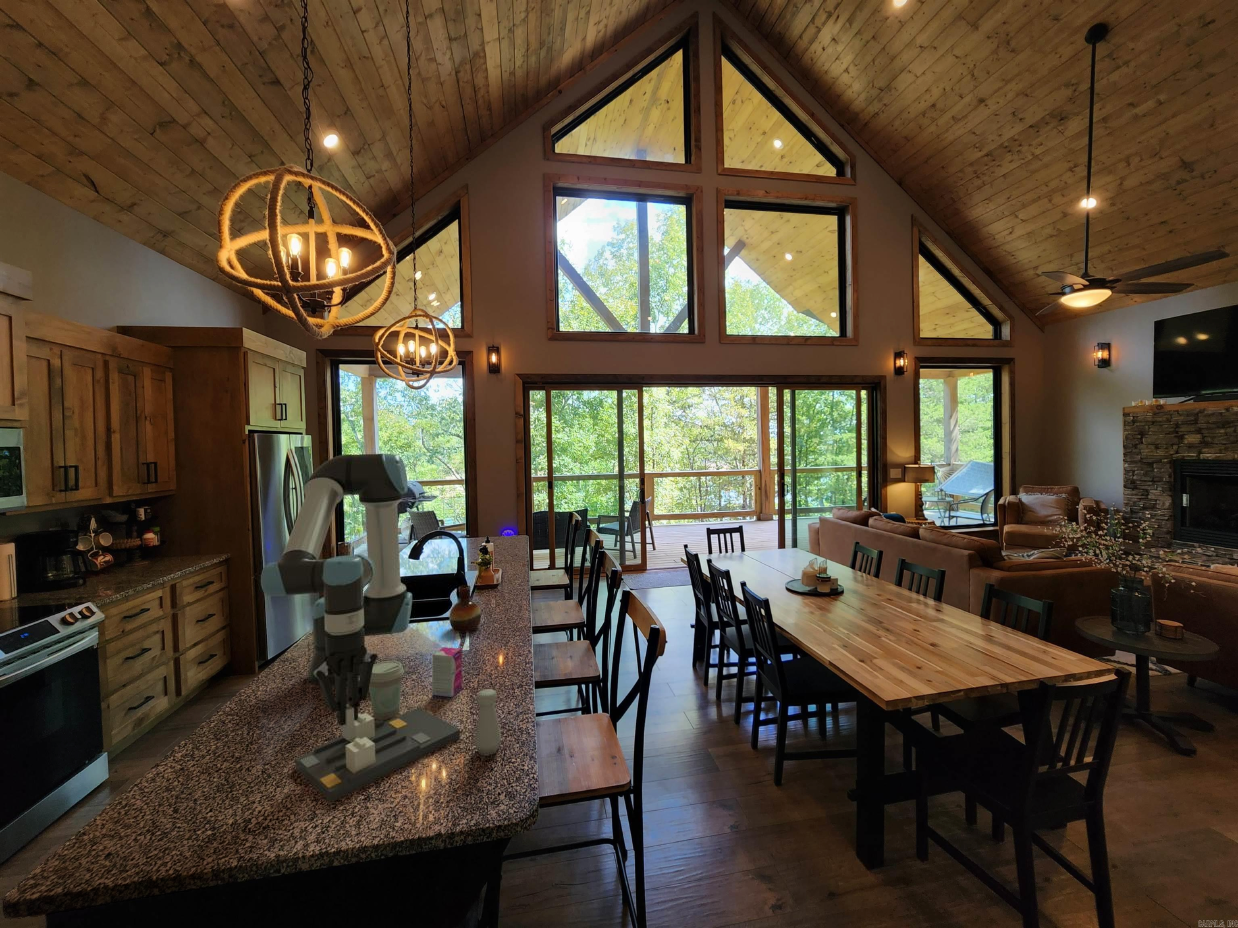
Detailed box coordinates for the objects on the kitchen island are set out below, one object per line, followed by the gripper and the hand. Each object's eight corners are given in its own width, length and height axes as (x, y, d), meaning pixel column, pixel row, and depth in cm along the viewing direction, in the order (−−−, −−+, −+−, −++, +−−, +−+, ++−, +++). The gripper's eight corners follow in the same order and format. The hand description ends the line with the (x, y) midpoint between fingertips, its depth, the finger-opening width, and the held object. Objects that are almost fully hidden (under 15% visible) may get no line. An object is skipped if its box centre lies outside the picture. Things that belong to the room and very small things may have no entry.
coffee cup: (368, 726, 127) (366, 676, 127) (366, 710, 135) (365, 664, 134) (406, 717, 131) (405, 669, 131) (403, 702, 139) (401, 657, 138)
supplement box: (452, 698, 141) (451, 656, 140) (432, 697, 142) (430, 654, 141) (463, 689, 146) (462, 647, 146) (443, 687, 147) (442, 646, 147)
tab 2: (346, 767, 108) (345, 741, 107) (366, 758, 111) (365, 733, 110) (355, 774, 105) (354, 748, 105) (375, 765, 108) (374, 739, 108)
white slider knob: (348, 739, 118) (347, 716, 117) (366, 732, 121) (365, 709, 120) (356, 746, 115) (355, 722, 115) (374, 738, 118) (374, 715, 118)
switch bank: (295, 768, 111) (295, 755, 111) (420, 714, 132) (419, 703, 132) (330, 802, 100) (330, 787, 100) (460, 738, 122) (459, 725, 121)
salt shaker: (477, 743, 119) (475, 686, 119) (503, 741, 120) (501, 684, 119) (472, 758, 113) (470, 698, 113) (499, 757, 114) (498, 697, 113)
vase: (476, 633, 189) (475, 590, 189) (445, 634, 189) (444, 591, 189) (484, 623, 200) (483, 582, 200) (455, 623, 201) (454, 583, 200)
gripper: (319, 642, 107) (323, 756, 108) (383, 624, 117) (386, 729, 118) (305, 633, 112) (308, 743, 113) (367, 617, 122) (370, 719, 123)
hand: (348, 736), depth 116 cm, fingers closed
